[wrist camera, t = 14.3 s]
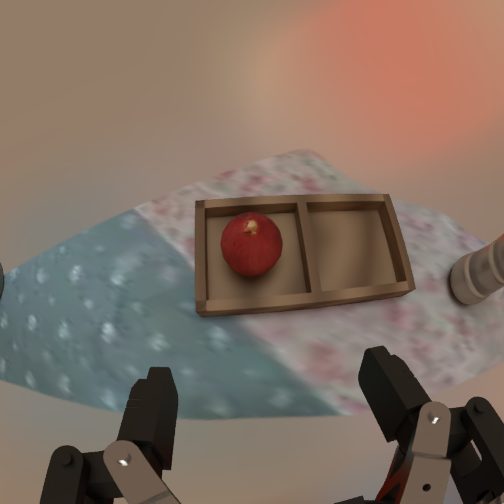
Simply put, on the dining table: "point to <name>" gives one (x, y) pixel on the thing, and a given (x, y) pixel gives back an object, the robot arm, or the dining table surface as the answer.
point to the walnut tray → (304, 254)
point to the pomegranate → (251, 243)
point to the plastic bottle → (479, 273)
